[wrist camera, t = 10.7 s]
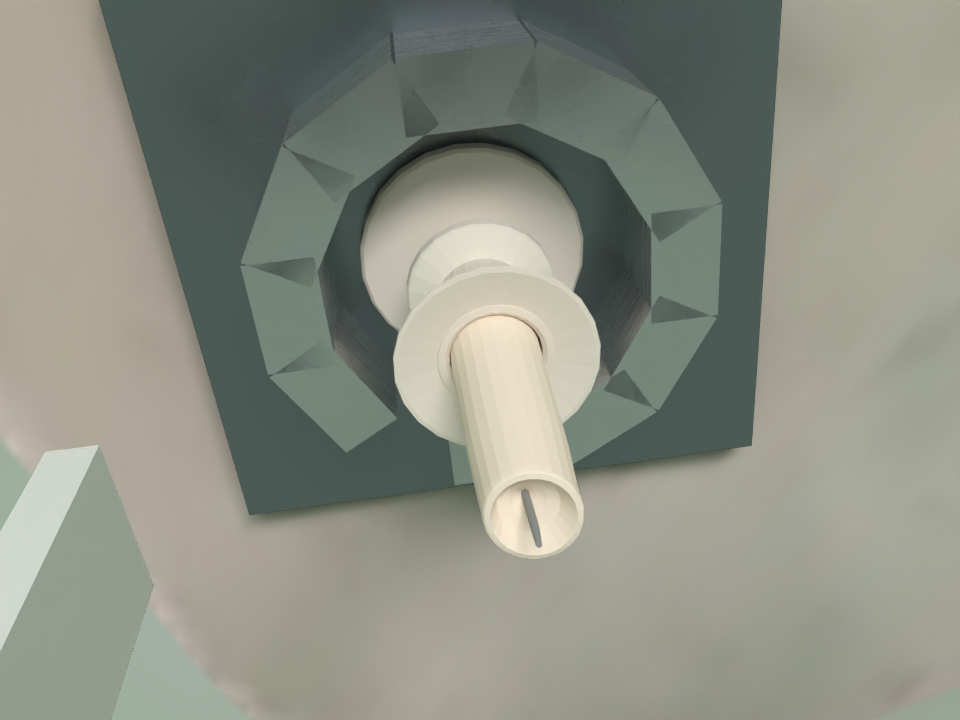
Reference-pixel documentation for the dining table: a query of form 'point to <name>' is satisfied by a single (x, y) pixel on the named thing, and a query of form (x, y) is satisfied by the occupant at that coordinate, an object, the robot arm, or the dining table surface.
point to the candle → (489, 327)
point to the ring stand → (430, 126)
